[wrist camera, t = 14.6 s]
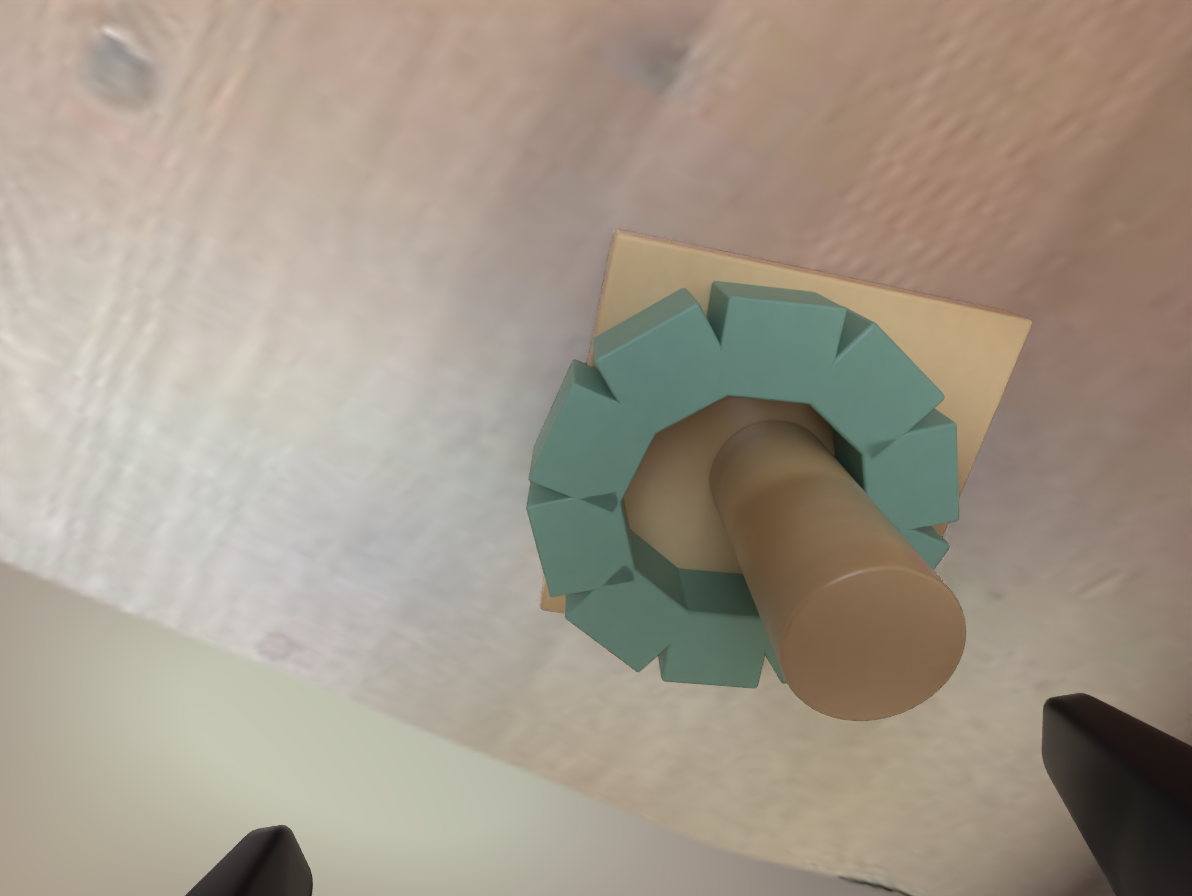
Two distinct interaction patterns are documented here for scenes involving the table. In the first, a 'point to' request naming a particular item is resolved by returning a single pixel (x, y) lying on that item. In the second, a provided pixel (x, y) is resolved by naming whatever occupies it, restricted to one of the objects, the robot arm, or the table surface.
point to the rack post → (811, 485)
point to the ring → (685, 386)
